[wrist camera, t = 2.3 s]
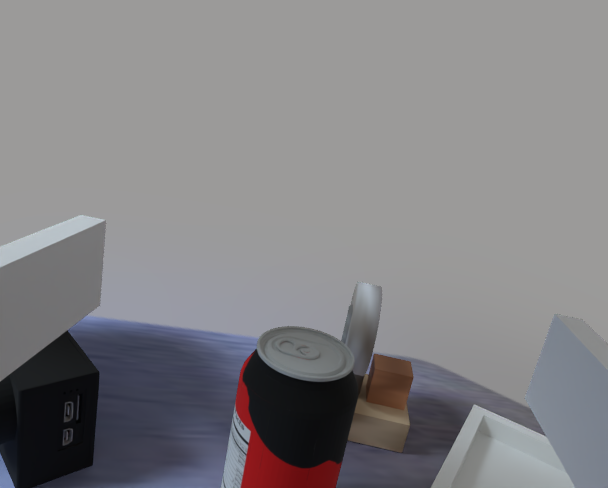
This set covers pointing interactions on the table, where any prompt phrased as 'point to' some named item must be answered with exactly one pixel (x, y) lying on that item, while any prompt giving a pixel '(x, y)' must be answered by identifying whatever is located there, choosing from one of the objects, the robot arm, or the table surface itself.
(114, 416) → the table surface
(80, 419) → the digital camera
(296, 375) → the beverage can
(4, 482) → the table surface
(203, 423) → the table surface
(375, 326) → the pulley stand
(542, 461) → the tray
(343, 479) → the table surface
